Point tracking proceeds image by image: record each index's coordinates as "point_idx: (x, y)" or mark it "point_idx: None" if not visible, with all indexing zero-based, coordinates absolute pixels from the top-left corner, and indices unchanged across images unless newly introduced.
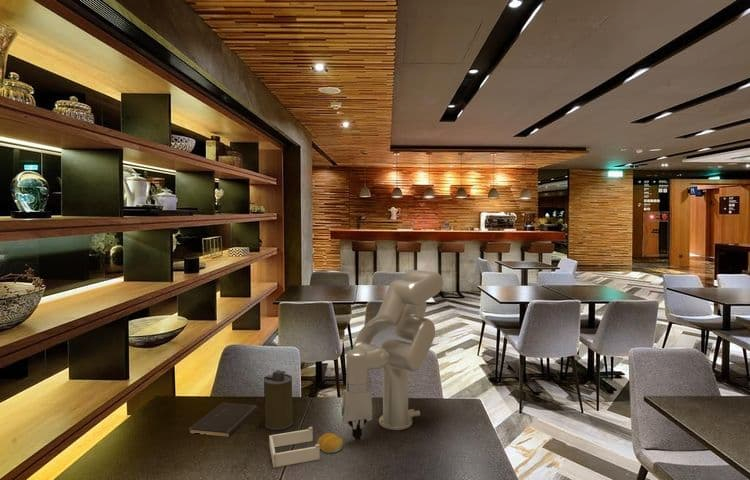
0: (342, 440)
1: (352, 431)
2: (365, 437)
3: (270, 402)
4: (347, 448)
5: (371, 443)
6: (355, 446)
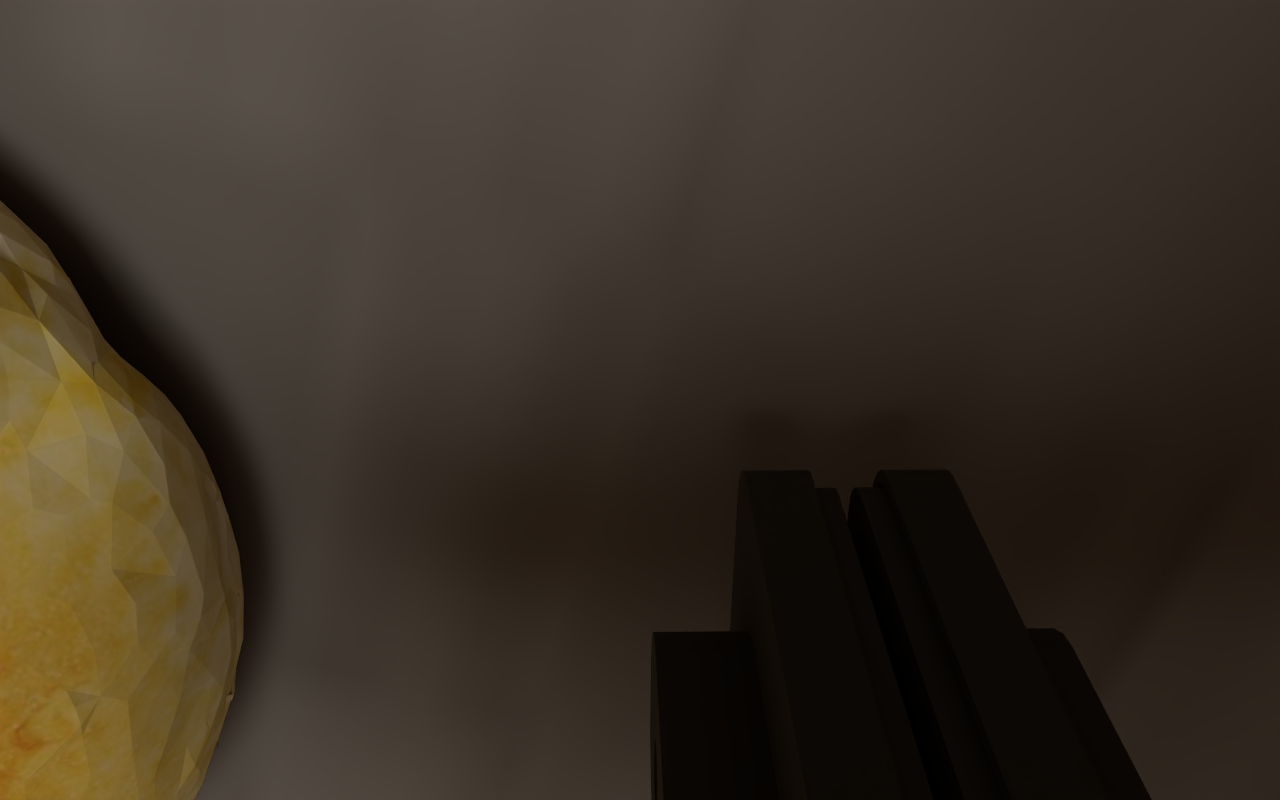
0: (165, 745)
1: (662, 756)
2: (1257, 301)
3: None
4: (378, 748)
5: (1212, 710)
6: None
